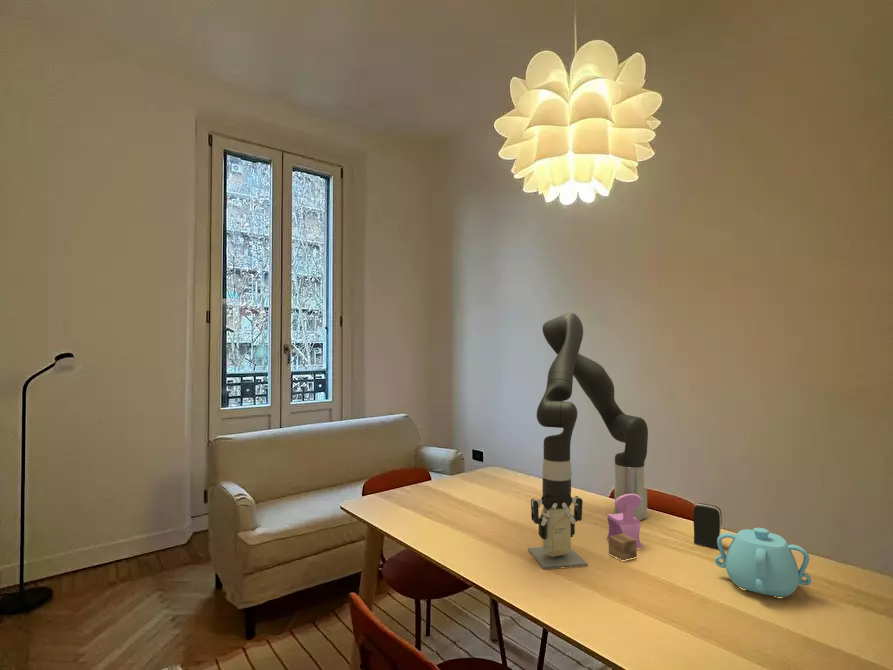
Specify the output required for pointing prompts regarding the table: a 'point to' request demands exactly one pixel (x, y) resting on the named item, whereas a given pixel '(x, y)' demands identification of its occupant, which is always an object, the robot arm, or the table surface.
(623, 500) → the toy chair
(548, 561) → the coaster
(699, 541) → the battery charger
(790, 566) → the decorative pot
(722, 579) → the table surface
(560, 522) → the skincare box
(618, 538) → the walnut block
